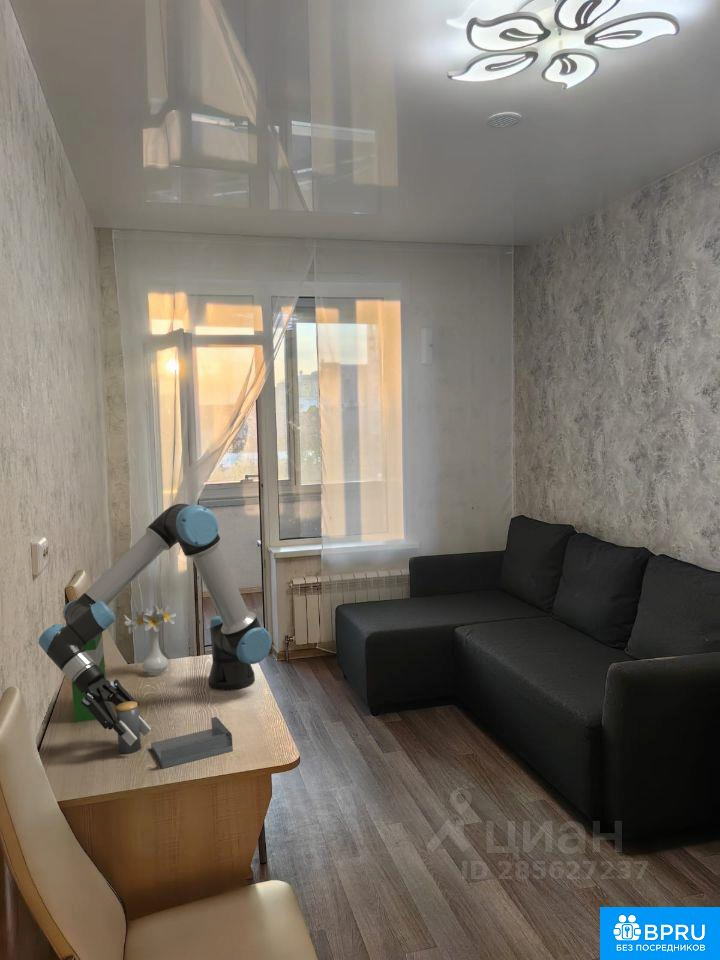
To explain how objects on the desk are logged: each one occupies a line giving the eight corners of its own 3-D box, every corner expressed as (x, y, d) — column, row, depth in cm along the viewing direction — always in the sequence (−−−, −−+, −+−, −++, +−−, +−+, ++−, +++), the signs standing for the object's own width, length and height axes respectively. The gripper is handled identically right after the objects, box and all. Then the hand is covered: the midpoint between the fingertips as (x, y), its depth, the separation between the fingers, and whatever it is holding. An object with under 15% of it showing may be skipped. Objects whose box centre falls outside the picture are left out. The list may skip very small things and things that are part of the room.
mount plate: (217, 732, 203) (216, 716, 203) (232, 751, 191) (231, 734, 190) (151, 748, 195) (150, 732, 195) (162, 768, 183) (161, 751, 182)
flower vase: (127, 673, 261) (122, 607, 260) (177, 665, 267) (173, 600, 266) (129, 683, 249) (124, 614, 248) (182, 674, 256) (177, 607, 254)
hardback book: (82, 702, 234) (76, 627, 232) (107, 698, 235) (101, 625, 234) (74, 722, 217) (68, 642, 215) (101, 718, 218) (95, 639, 217)
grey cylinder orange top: (138, 742, 199) (135, 699, 198) (142, 750, 194) (139, 706, 193) (117, 747, 197) (114, 703, 196) (120, 755, 192) (117, 710, 191)
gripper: (98, 671, 208) (153, 732, 204) (52, 694, 190) (111, 761, 186) (113, 653, 206) (168, 714, 202) (68, 675, 188) (127, 742, 184)
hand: (140, 737), depth 194 cm, fingers closed on grey cylinder orange top, 6 cm apart
